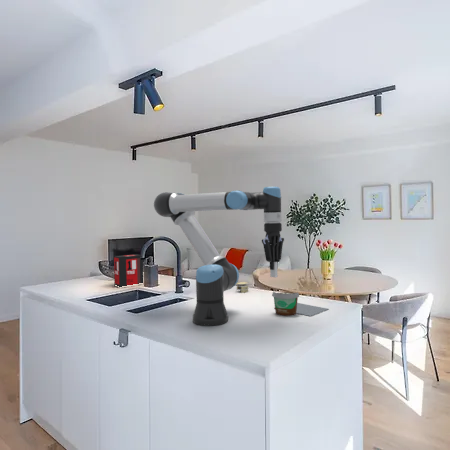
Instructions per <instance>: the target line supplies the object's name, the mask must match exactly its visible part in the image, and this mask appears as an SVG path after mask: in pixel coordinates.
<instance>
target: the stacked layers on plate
mask: <svg viewBox="0 0 450 450" xmlns="http://www.w3.org/2000/svg"><path fill="white" fill-rule="evenodd" d="M235 286H236V288H235V290H236V291H239V292H240V293H241V294H243V293H244V294H245V293H247V292H249V282H247V281H241V282H237V284H236V285H235Z"/></svg>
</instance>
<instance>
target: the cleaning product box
mask: <svg viewBox="0 0 450 450" xmlns="http://www.w3.org/2000/svg"><path fill="white" fill-rule="evenodd" d="M141 255H142V254H137V253H134V254H123V255H114V256H113V276H114V278H113V279H114V286H115V285H117V286H119V287H122V286H127V285H133V284H139V283H143V284H144V259H143V260H141V258H140V256H141Z"/></svg>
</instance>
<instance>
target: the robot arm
mask: <svg viewBox="0 0 450 450" xmlns="http://www.w3.org/2000/svg"><path fill="white" fill-rule="evenodd" d="M262 190H263V191H259V192H249V191H242V190H231V191H223V192H222V191H221V192H205V193H192V194H190V193H188V194H185V193H179V192H177V193H175V192H161V193H160V194H158V195H157V196H156V197H155V198H154V203H153V208H154V210H155V212H156V213H157V214H158V215H159V216H161V217H164V218H170V219H171V221H172V222H173V224H174V225H177V226H179V227H180V229H181V230H182V232H183V233H184V235H185V236H186V238H187V240H188V241H189V243H190V244H191V246H192V247H193V249H194V250H195V252H196V253H197V254H196V255H198V257H199V259H200V260H201V262H202V263H203V265H202V266H199V267H197V268H196V272H195V285H196V286H195V287H196V289H195V290H196V291H195V292H196V293H195V294H196V304H195V307H194V312H193V314H192V322H193V323H194V324H196V325H197V326H198V325H200V326H205V327H206V326H207V327H210V326H219V325H223V324H225V323H227V322H228V321H229V315H228V312H227V309H226V305H225V302H224V292H226V291H228V290H231V289H232V288H234V287H235V286H236V285H237V283H239V278H240V272H239V270H238V268H237V266H235V265H234V264H232V263H231V262H229V261H228V259H227V257H226V256H221V255H220V254H221V253H219V252H218V250H217V248H216V247H215V246H214V244H213V242H212V241H211V239H210V238H209V236H208V235H207V233H206V232H205V230H204V228H203V227H202V225H201V224H200V222H199V221H198V219H197V218H196V217H195V213H196V212H206V211H207V212H208V211H227V210H228V211H229V210H230V211H232V210H233V211H235V210H236V211H237V210H240V211H252V210H253V211H254V210H263V222H264V223H263V224H264V225H263V228H264V229H263V231H264V232H265V237H264V238H262V239H261V243H262V245H263V251H264V257H265V261H266V262H268V263H269V270H270V271H269V272H270V277H269V278H278V276H279V275H278V267H279V266H278V263H280V262H281V260H282V254H283V253H282V252H283V243H284V242H285V238H284V237H282V236H281V232H282V231H283V229H282V228H283V226H282V193H281V188H280V187H279V186H265V187H263V189H262Z"/></svg>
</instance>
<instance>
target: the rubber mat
mask: <svg viewBox="0 0 450 450" xmlns="http://www.w3.org/2000/svg"><path fill="white" fill-rule="evenodd" d="M273 310H275V307H274V309H273ZM328 310H330V309H329V308H327V307H321V306H318V305H317V306H316V305H311V304H305V303H300V302H297V310H296V314H295V315H301V316H307V317H313V316H315V314H316V315H318V314H321V313H323V311H324V312H326V311H328ZM320 312H321V313H320Z"/></svg>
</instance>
